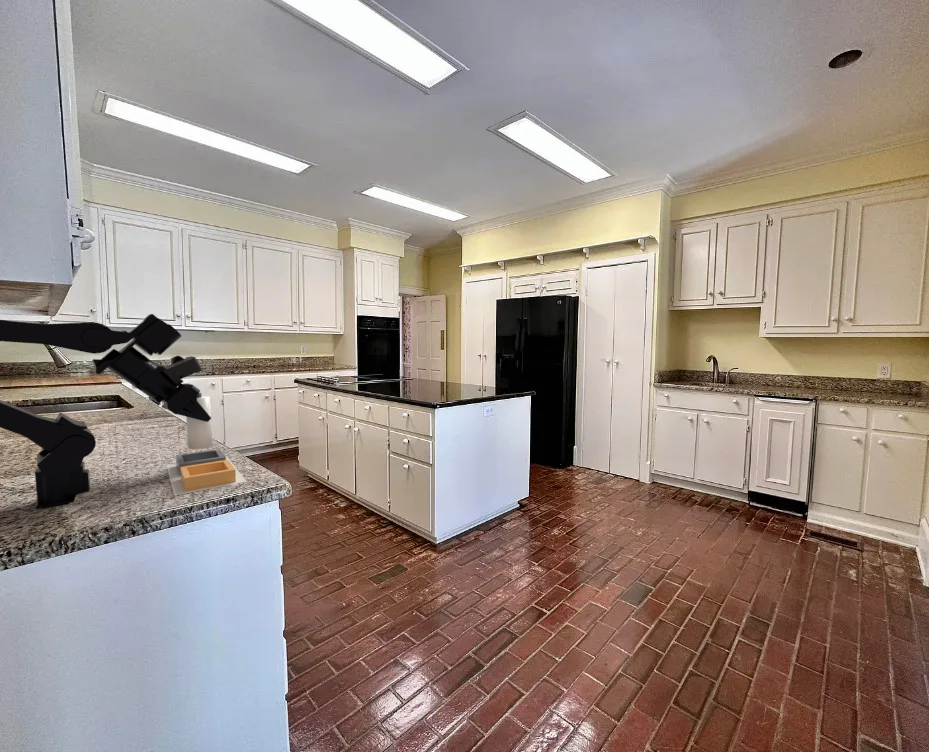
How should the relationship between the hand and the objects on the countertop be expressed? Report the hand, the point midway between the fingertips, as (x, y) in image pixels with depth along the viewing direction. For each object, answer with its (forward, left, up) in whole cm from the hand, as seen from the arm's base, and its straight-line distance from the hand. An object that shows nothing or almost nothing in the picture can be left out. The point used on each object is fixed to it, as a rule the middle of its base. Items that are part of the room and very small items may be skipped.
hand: (206, 418), depth 92 cm
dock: (-1, -6, -12) cm, 13 cm away
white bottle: (-1, 0, -6) cm, 6 cm away
